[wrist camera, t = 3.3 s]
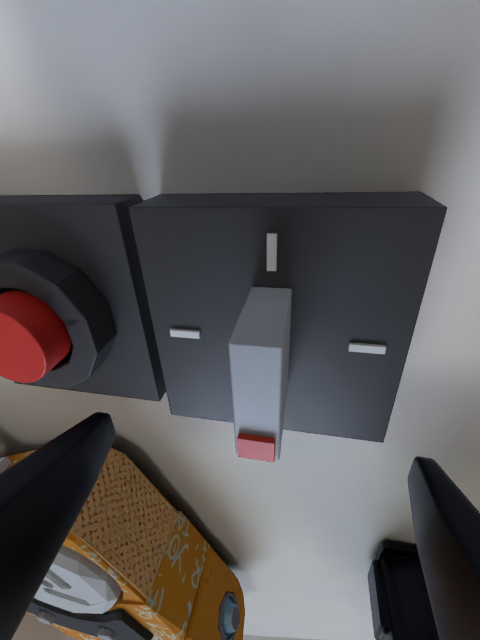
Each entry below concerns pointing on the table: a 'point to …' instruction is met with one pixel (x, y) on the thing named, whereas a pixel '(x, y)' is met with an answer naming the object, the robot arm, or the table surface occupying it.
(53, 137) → the table surface
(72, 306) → the button block
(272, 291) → the grey rectangular block
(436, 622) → the robot arm
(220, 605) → the device
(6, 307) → the power button
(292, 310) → the panel
